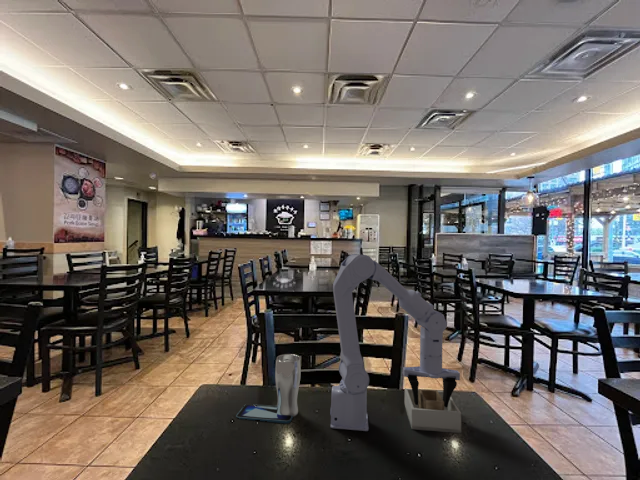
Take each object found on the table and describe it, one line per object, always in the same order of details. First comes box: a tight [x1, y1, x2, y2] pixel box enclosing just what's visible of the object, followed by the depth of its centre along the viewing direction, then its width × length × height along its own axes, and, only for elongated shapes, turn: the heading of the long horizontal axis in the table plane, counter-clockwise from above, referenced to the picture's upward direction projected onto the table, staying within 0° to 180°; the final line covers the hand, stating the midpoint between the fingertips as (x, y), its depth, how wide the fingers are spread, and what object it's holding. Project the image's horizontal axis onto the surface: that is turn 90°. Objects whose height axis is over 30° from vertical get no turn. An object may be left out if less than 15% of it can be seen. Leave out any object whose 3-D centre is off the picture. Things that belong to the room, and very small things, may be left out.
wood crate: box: [418, 388, 444, 410], centre depth 85 cm, size 5×7×6 cm
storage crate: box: [404, 388, 462, 434], centre depth 85 cm, size 12×12×5 cm
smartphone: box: [235, 403, 294, 425], centre depth 86 cm, size 7×1×15 cm
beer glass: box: [274, 353, 302, 418], centre depth 87 cm, size 7×7×15 cm
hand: (430, 404), depth 85 cm, fingers open, 7 cm apart
